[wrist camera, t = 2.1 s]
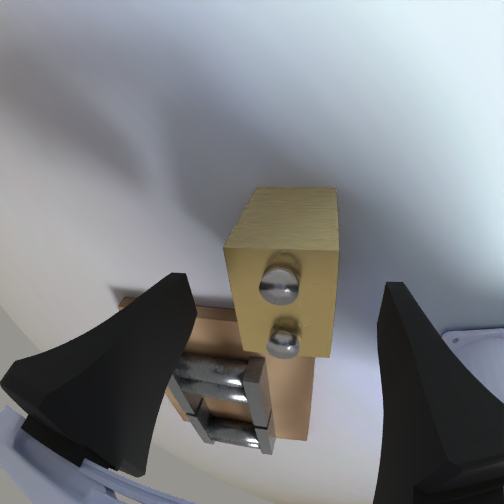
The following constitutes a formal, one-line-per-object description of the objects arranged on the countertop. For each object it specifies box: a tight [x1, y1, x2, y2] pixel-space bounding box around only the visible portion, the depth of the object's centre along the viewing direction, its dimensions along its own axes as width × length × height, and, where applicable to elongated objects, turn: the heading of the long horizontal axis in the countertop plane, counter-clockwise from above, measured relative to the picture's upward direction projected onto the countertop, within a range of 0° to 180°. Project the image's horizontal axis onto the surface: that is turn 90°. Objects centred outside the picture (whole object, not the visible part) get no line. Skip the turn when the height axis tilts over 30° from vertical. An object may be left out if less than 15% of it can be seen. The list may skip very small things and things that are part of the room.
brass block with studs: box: [223, 188, 339, 359], centre depth 12 cm, size 4×5×6 cm
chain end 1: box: [168, 352, 272, 427], centre depth 20 cm, size 7×7×2 cm
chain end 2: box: [186, 398, 276, 455], centre depth 24 cm, size 7×7×2 cm
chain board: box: [118, 297, 315, 441], centre depth 22 cm, size 13×17×1 cm
